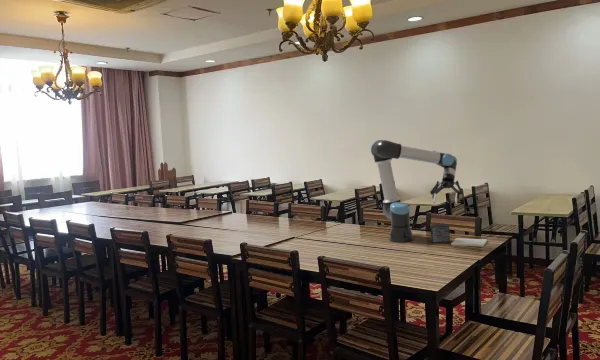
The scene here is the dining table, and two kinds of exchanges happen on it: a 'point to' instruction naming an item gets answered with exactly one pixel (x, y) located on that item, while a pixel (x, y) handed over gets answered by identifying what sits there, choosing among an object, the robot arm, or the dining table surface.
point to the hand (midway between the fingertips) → (444, 202)
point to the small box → (440, 233)
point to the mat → (469, 242)
